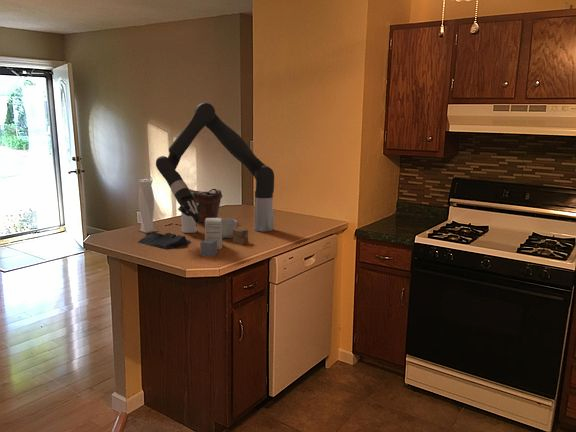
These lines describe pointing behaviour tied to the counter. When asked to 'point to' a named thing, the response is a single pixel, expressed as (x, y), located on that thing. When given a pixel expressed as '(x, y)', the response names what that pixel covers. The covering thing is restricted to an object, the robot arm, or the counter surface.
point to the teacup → (228, 227)
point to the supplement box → (214, 230)
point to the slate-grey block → (208, 247)
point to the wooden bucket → (208, 203)
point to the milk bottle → (188, 223)
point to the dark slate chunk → (164, 240)
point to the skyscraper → (146, 205)
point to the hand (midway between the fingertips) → (198, 221)
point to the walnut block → (240, 236)
